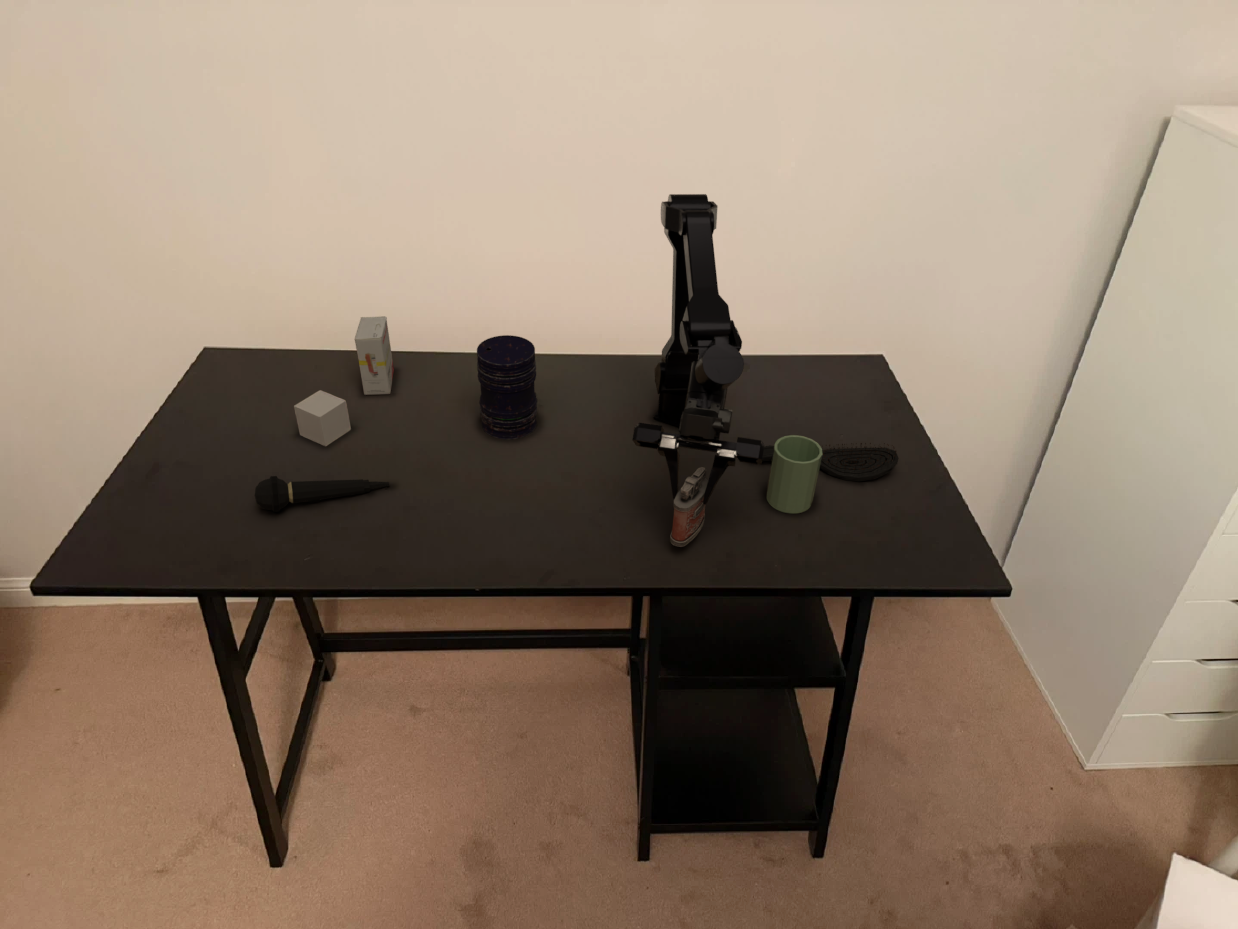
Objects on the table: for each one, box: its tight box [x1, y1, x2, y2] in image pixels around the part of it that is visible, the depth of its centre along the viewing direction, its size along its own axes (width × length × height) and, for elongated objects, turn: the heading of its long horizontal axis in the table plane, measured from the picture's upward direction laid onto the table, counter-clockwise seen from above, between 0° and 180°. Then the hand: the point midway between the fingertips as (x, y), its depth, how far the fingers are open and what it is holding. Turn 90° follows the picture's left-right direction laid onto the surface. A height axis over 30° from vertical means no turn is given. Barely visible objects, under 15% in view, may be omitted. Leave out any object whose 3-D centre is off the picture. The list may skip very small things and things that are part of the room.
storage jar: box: [476, 334, 538, 440], centre depth 159 cm, size 10×10×15 cm
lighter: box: [669, 466, 709, 548], centre depth 136 cm, size 8×3×10 cm, turn 149°
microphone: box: [254, 475, 390, 513], centre depth 144 cm, size 6×6×20 cm
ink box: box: [354, 315, 395, 396], centre depth 169 cm, size 9×5×12 cm, turn 5°
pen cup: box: [765, 434, 823, 515], centre depth 146 cm, size 7×7×10 cm
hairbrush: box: [762, 442, 899, 482], centre depth 156 cm, size 8×4×25 cm
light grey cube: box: [293, 389, 352, 447], centre depth 158 cm, size 6×6×6 cm
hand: (689, 502), depth 134 cm, fingers closed on lighter, 4 cm apart
